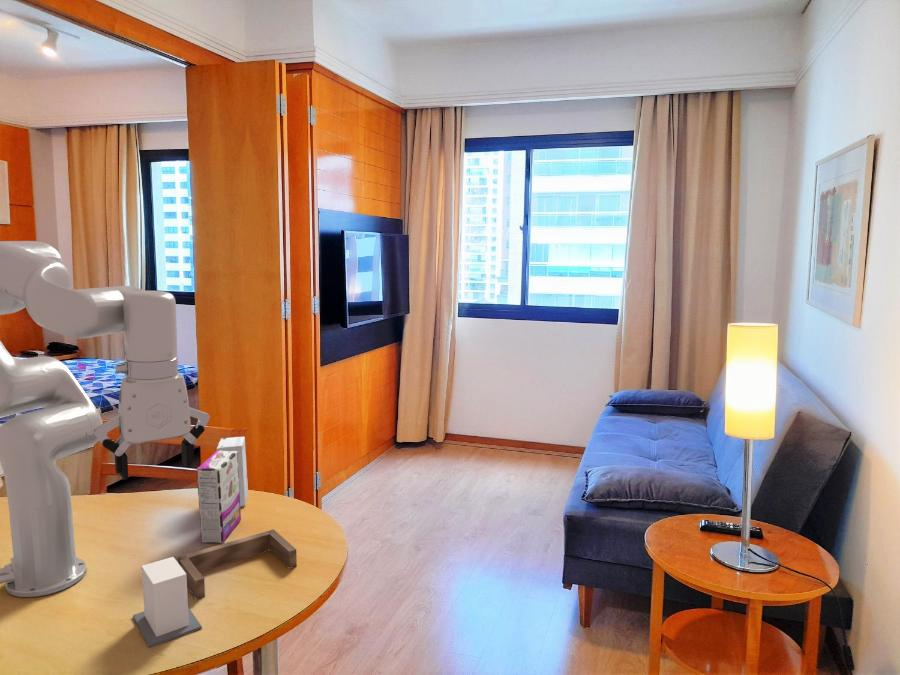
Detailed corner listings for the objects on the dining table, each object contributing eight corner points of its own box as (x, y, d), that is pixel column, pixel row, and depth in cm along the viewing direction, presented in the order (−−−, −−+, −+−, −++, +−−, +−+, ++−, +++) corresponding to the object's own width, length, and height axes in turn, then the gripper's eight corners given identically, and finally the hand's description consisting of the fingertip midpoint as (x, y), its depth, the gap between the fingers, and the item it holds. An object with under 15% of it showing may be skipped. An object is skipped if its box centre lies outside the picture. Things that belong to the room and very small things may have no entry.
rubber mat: (149, 647, 100) (149, 645, 100) (133, 617, 107) (133, 614, 107) (201, 628, 105) (201, 626, 105) (182, 600, 112) (182, 598, 112)
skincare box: (245, 507, 150) (243, 446, 148) (218, 509, 149) (215, 447, 147) (248, 493, 159) (246, 435, 156) (222, 494, 157) (220, 436, 155)
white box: (156, 636, 102) (153, 584, 100) (144, 616, 107) (141, 565, 106) (189, 625, 105) (186, 574, 103) (175, 605, 110) (173, 556, 109)
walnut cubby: (196, 599, 113) (195, 580, 112) (178, 574, 121) (177, 556, 120) (296, 566, 125) (296, 549, 124) (274, 545, 133) (273, 529, 132)
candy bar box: (219, 519, 144) (216, 449, 141) (241, 520, 144) (239, 450, 141) (199, 543, 133) (195, 468, 130) (223, 544, 133) (220, 468, 130)
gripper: (95, 379, 94) (101, 489, 97) (214, 368, 105) (217, 467, 108) (86, 369, 100) (92, 473, 103) (200, 359, 111) (203, 454, 113)
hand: (156, 470), depth 105 cm, fingers open, 9 cm apart
